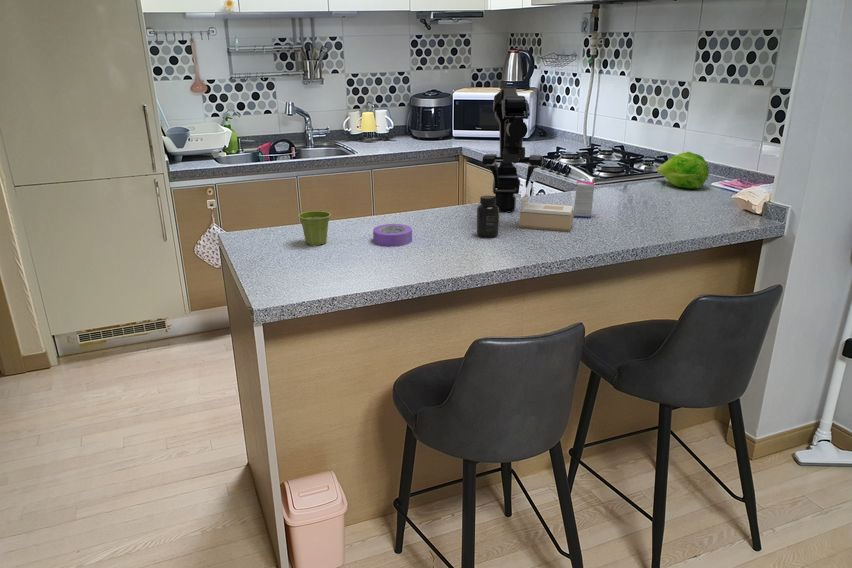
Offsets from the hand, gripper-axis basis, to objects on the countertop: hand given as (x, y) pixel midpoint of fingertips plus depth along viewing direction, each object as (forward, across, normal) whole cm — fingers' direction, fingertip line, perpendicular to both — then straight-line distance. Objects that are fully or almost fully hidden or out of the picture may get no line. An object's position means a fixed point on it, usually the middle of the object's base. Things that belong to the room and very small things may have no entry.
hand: (511, 187), depth 214 cm
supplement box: (+12, +23, +16) cm, 30 cm away
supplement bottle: (+13, -6, -14) cm, 20 cm away
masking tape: (+14, -33, -25) cm, 44 cm away
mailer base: (+12, +11, 0) cm, 17 cm away
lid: (+7, +11, 0) cm, 14 cm away
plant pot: (+14, -54, -33) cm, 65 cm away
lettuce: (+8, +60, +72) cm, 95 cm away
